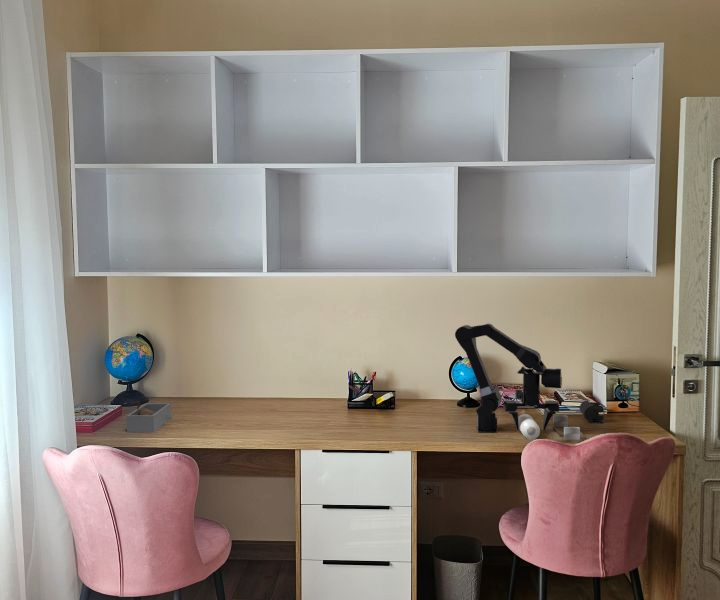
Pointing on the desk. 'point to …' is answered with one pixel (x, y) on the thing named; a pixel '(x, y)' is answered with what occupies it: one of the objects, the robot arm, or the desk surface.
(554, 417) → the roll holder
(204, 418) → the desk surface
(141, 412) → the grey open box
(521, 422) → the paper roll
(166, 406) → the box
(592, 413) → the end cap
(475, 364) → the robot arm
